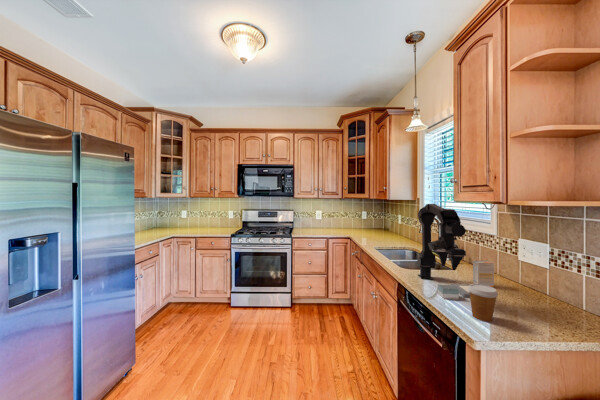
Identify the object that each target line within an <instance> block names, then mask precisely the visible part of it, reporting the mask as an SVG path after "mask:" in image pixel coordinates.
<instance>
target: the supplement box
mask: <svg viewBox="0 0 600 400" xmlns="http://www.w3.org/2000/svg"><path fill="white" fill-rule="evenodd" d="M472 284H482V285H487V286H490V287H493V288H494V287H495V262H492V261H490V260H472Z"/></svg>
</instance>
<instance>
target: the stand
mask: <svg viewBox="0 0 600 400" xmlns="http://www.w3.org/2000/svg"><path fill="white" fill-rule="evenodd" d="M450 285H454V286H455V287H456V288H458V289H459V294H460V295H461V296H462V297H463V298H470V292H469V290H468V287H469V285H470V284H459V283H458V284H455V283H451V284H450Z"/></svg>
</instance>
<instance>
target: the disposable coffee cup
mask: <svg viewBox="0 0 600 400" xmlns="http://www.w3.org/2000/svg"><path fill="white" fill-rule="evenodd" d="M468 285H469V287H468V290H469V292H470V305H471V306H470V307H471V314H472V315H471V316H472V317H473V318H474V317H475V319H476V318H477V319H476V320H478V319H479V321H481V320H482V322H486V321H487V322H492V321H493V319H494V318H493V317H494V313H495V307H496V301H497V297H498V296H499V293H498V291H497V289H496V288H494V287H490V286H487V285H482V284H473V283H470V284H468Z"/></svg>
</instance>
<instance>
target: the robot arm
mask: <svg viewBox="0 0 600 400" xmlns="http://www.w3.org/2000/svg"><path fill="white" fill-rule="evenodd" d="M417 218H418V221H419V223H420V225H421V242H422V243H421V244H422V250H421V251H420V253H419V255H418V256H419V257H418V259H417V260H416V266H417V267H418V268H419V269H420V270H419V272H420V273H419V274H417V276H418V277H419V278H420V279H422V280H434V278H433V276H432V269H436V265H437V260H436V255H435V254H434V253H436V254H437V256H438V258H439V261H440V264H441V266H442V267H445V266H446V264H447V259H448V257H449V258H450V264H451V270H452V271H456V270H457V267H458V266H459V264H460V263H461V261H462V259H464V258H465V257H466V256H467V252H466V250H465V249H463V248H461V247H460V248H459V247H457V246H456V241H457V240H458V239H457V237H458V238H461V237H463V236H465V234H466V227H465V226H464V224H463V225H462V224H461V223H462V221H461V218H460V217H459V215H458V212H457V211H456V210H455V209H453V208H444V207H441V206H439V205H437V204H436V203H427V204H425V206H424V207H422V208H420V209H419V210H418V212H417ZM435 218H437V219H438V221H439V224H438V225H439V226H440V236H438V239H437V240H433V241H432V225H433V223H434V222H435Z"/></svg>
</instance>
